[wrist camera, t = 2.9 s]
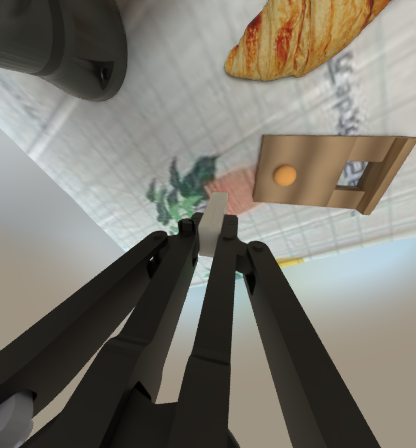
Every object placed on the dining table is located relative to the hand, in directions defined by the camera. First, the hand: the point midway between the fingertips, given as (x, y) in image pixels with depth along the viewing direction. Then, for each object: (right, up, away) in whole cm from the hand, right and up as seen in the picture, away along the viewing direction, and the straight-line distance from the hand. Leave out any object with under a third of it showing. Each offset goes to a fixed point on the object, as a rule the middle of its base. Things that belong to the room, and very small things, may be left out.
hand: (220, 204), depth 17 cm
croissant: (+11, +23, +3) cm, 26 cm away
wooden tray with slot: (+18, +7, +11) cm, 22 cm away
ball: (+11, +6, +9) cm, 15 cm away
